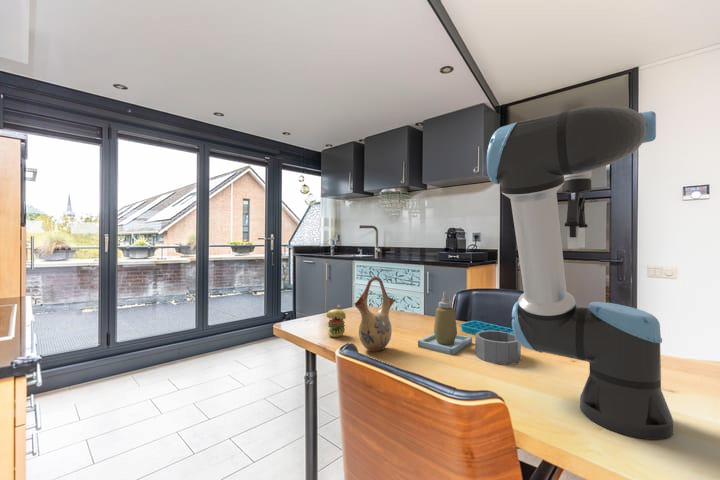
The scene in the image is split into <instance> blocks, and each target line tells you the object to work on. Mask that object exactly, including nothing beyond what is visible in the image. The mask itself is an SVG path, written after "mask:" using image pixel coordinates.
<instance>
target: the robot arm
mask: <svg viewBox="0 0 720 480" xmlns="http://www.w3.org/2000/svg"><path fill="white" fill-rule="evenodd" d="M656 138H657V115H656V112H655V111H653V110H652V111H651V110H650V111H645V112H638V111H637V110H635V109H632V108H630V107H626V106H610V105H608V106H607V105H606V106H605V105H601V106H597V105H596V106H594V105H593V106H584V107H578V108H573V109H570V110H565V111H562V112H557V113H552V114H549V115H544V116H538V117H534V118H531V119H525V120H522V121H521V120H520V121H515V122H514V123H509V124H507V125H504V126H500V127H499V128H497V129H496V131H494V133H493V134H492V136H491V138H490V140H489V143H488V146H487V151H486V172H487V176H488V178H489V181H490V182H491V183H492V184H495V185H500V188H501V194H502V195H504V196H505V197H507V198H508V199H510V204H511V212H512V219H513V225H514V232H515V240H516V246H517V252H518V260H519V267H520V275H521V280H522V289H523V293H522V294H521V295H520V296H519V297H518V299H517V301H515V303H514V304H513V307H512V312H511V318H512V320H511V327H512V328H511V329H513V332H514V335H515V338H516V340H517V341H518V343H519V344H520V345H521V347H523V348H525V349H529V350H530V351H531V350H532V351H535V352H537V353H546V354H551V355H554V356H560V357H564V358H569V359H574V360H579V361H584V362H588V363H589V372H588V373H589V374H588V377H587V380H586V382H585V384H584V386H583V389H582V392H581V394H580V397H579V409H580V411H581V413H582V414H583V415H584V416H585V417H586V418H587V419H589V420H590V421H592V422H594V423H595V424H597V425H599V426H601V427H604V428H606V429H608V430H609V431H614V432H616V433H618V434H622V435H625V436H629V437H632V438H633V437H634V438H639V439H643V440H644V439H646V440H665V439H668V438H671V437H672V436H673V435H674V419H673V416H672V413H671V411H670V408H669V406H668V404H667V402H666V399H665V396H664V393H663V390H662V382H661V381H662V369H661V366H662V365H661V364H662V363H661V361H662V360H661V359H662V358H661V344H662V342H663V338H662V337H661V324H660V322H659V321H660V320H659V319H658V318H657V317H656V316H654V315H653V314H651V313H649V312H647V311H645V310H643V309H639V308H635V307H632V306H627V305H622V304H618V303H611V302H604V301H592V302H590V303H589V305H588V306H587V307H581V306H576V305H577V303H576V299H575V297H574V296H573V294H571V293H570V292H568V291H567V283H566V274H565V264H564V254H563V253H564V252H563V243H562V236H561V225H560V224H561V222H560V215H559V214H560V213H559V203H558V194H557V193H558V191H559V190H560V189H561V191H562V194H567V197H568V199H567V211H566V212H567V213H566V221H565V223H564V227H567V249H568V250H569V249H570V250H580V248H581V249H585V248H586V230H585V229H586V228H588V223H587V222H586V215H585V211H586V209H585V207H586V205H585V203H586V198H585V197H584V196H583V193H589V192H591V190H592V179H591V177H592V176H593V175H592V171H595V170H598V169H601V168H604V167H606V166H609V165H611V164H614V163H616V162H619V161H621V160H623V159H625V158H627V157H629V156H630V155H632V154H634V153H635V152H636V151H637V150H638V149H639V148H640V147H641V145H642V144H645V143H649V142H650V143H651V142H653V141H655V140H656ZM586 223H587V224H586Z"/></svg>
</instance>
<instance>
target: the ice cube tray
mask: <svg viewBox="0 0 720 480" xmlns="http://www.w3.org/2000/svg"><path fill="white" fill-rule="evenodd" d="M458 326H459V327H461V332H462V333H466V334H470V335H474V336H475V334H476V333H477V332H479V331H487V330H489V331H502V332H508V333H511V334H514V332H513V328H511V327H506V326H501V325H497V324H493V323H488V322H483V321H479V320H469V321H466V322H462V323H459V324H458Z"/></svg>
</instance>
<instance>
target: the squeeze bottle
mask: <svg viewBox="0 0 720 480" xmlns="http://www.w3.org/2000/svg"><path fill="white" fill-rule="evenodd" d="M442 293H443V294H442V298H441V301H439V302H438V307H437V308H436V309H435V316H434V326H433V327H434V328H433V334H435V337H436V340H437V342H438V343H440V344H445V345H450V344H454V341H455V338H456V335H458V328H457V318H456V310H455V309H454V308H452V307H453V302H452V301H450V299H449V296H448V292H447V291H443V292H442Z"/></svg>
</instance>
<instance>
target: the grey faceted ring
mask: <svg viewBox="0 0 720 480" xmlns="http://www.w3.org/2000/svg"><path fill="white" fill-rule="evenodd" d="M474 338H475V340H474V341H475V342H474V343H475V345H474V346H475V348H474V349H475V350H474V352H475V356H476V357H477V358H478V359H480V360H482V361H484V362H488V363H492V364H497V365H514V364H518V363H520V361H521V360H522V350H521V349H522V346H521V345H520V344H519V343H518V341H517V340H516V338H515V335H514V334H511V333H508V332H502V331H489V330H487V331H479V332H477V333H476V334H475V335H474Z"/></svg>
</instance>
